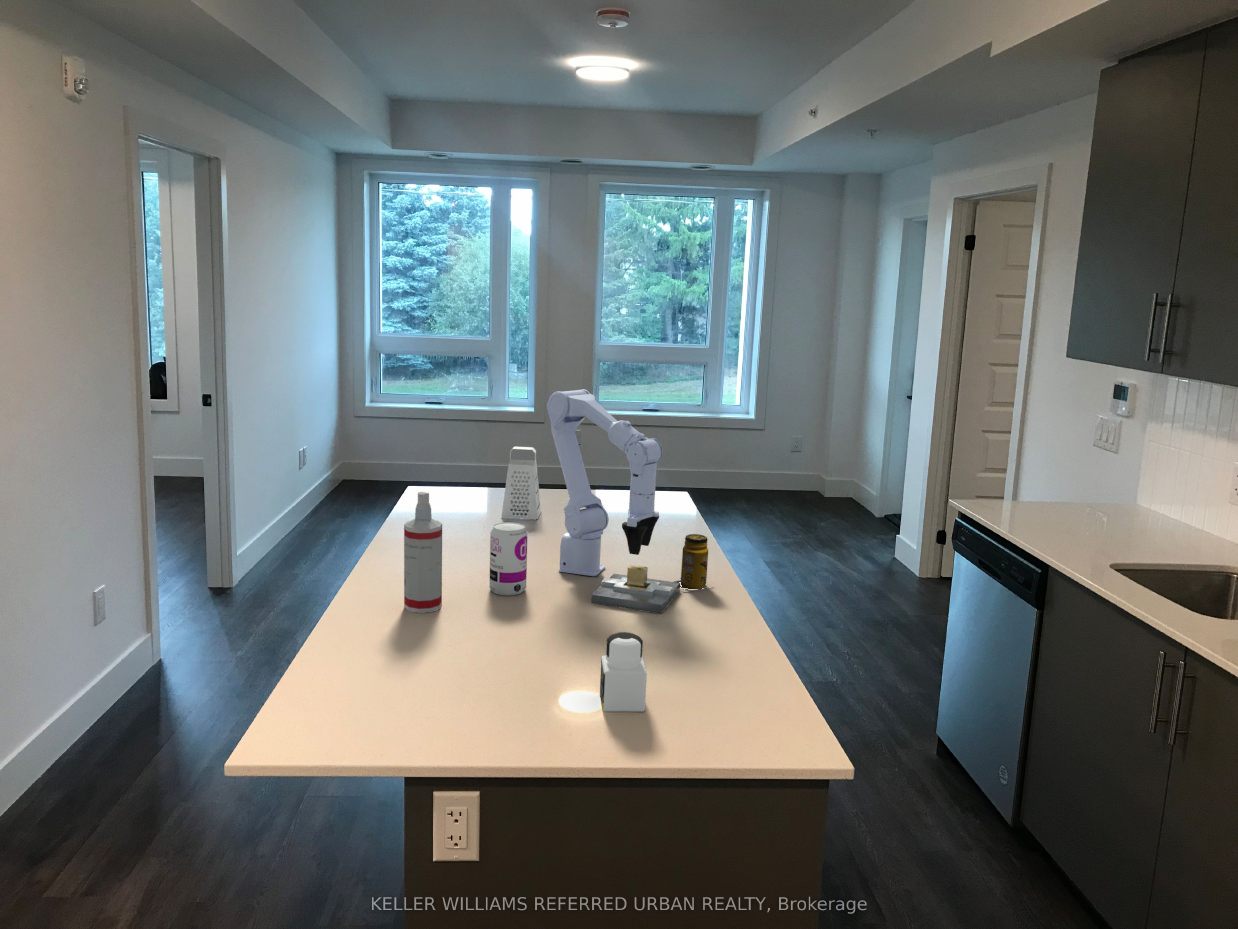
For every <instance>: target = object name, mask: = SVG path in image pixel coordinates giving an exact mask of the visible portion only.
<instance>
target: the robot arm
mask: <svg viewBox="0 0 1238 929" xmlns="http://www.w3.org/2000/svg"><path fill="white" fill-rule="evenodd" d="M546 408H547V414H548V416H549V420H550V430H551V435H552V438H553V443H554V446H555V449H556V452H557V457H558V460H559V464H560V467H561V470H562V474H563V478H564V483H565V486H566V489H567V490H566V491H567V492H568V493H567V494H568V497H569V500H568V501H567V503H566V504H565V506H564V508H563V511H564V526H565V530H566V531H567V532H565V533H563V535H562V537H561V540H560V550H559V568H558V572H560V573H567V574H568V573H569V574H573V575H582V576H587V577H588V576H589V577H597V576H598V575H599V574H600V573H601V572H602V571H604V569H606V565H603V564H601V550H602V547H601V546H602V535H604V531H605V530H606V529H607V527H608V525H609V520H610V519H609V515H608V512H607V510H606V508H605V507H604V506H603V503H602V500H601V499H600V498H599V497H598V496H596V495H595V494H594V493H592V489H591V486H590V482H589V478H588V474H587V472H586V471H587V470H586V468H585V463H584V460H583V457H582V456H583V455H582V453H581V450H580V445H579V442H578V438H577V435H576V430H577V428H578V426H579V425H580V424H581V423H582V422H583V421H584V420H585V418H586V419H588V420H589V421H591V422H592V423H594V424H595V425H597V426H598V427H599V428H601V429H602V430H603V431H605V432H607V438H608V440H609V441H610V442H611V443H612V444H613V445H615V446H616V447H617V448H618V449H620V451H622V452H623V453H624V454H625V455H626V459H627V462H628V465H629V471H630V481H629V482H630V485H629V486H630V487H629V501H628V502H629V505H628V510H627V515H628V517H627V521H624V522H622V523H621V528H622V530H623V532H624V535H625V537H626V541H627V548H628V552H629V554H630V555H634V556H635V555H637V556H639V555H640V552H641V549H642V548H641V547H642V546H646V547H649V546H650V542H651V539H652V535H653V532H654V529H655V526H656V524H657V522H658V521H659V519H660V512H659V511H656V510H655V499H656V484H657V483H656V482H657V469H658V468H657V465H658V463H659V462H660V461H661V460H662V458H663V454H664V451H663V446H662V444H661V442H659V440H658V439H657V438H655V437H650V438H648V437H647V436H646V435H645V434H644V433H643V432H639V431H638V430H637V429H636V428H635V427H633V426H632V423H631V422H630V421H629V420H622V419H621V420H617V419H616V418H615V417H614V416H613V415H612V414H610V413H609V412H608V411H607V410H606V409H605V408H604V407H603V406H602V405H601V404H600V403H598V401H596V397H595V395H594V394H592V393H591V392H589V390H587V389H584V388H582V389H575V390H568V391H567V390H565V391H559V390H558V391H554V392H553V393H552V394H551V395H550V396H549V399H548V400H547V403H546Z"/></svg>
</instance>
